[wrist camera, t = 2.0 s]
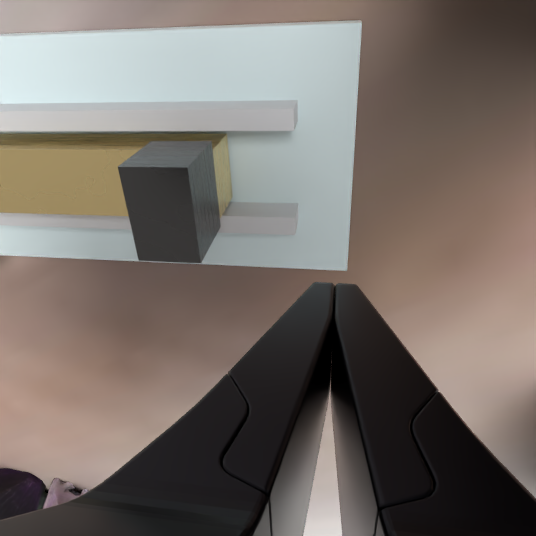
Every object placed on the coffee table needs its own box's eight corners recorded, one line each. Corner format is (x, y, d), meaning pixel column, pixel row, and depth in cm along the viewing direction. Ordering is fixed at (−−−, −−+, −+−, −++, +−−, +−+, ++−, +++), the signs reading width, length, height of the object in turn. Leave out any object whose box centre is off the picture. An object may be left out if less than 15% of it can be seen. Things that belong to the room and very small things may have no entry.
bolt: (226, 125, 16) (187, 167, 12) (233, 203, 17) (200, 263, 14) (-26, 126, 17) (-131, 164, 14) (1, 198, 19) (-86, 250, 15)
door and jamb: (360, 19, 15) (364, 28, 12) (347, 252, 20) (346, 306, 16) (-191, 41, 18) (-312, 52, 15) (-91, 235, 23) (-166, 277, 20)
